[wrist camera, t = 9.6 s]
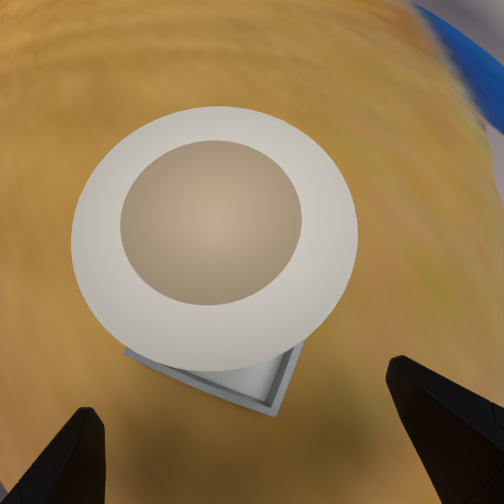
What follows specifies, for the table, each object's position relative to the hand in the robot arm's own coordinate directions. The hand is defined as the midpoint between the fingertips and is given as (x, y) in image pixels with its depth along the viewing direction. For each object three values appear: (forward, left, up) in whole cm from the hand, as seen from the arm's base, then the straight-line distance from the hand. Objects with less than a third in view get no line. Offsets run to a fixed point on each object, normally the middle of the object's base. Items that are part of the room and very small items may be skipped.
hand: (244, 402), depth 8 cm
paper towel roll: (+3, +2, -10) cm, 11 cm away
